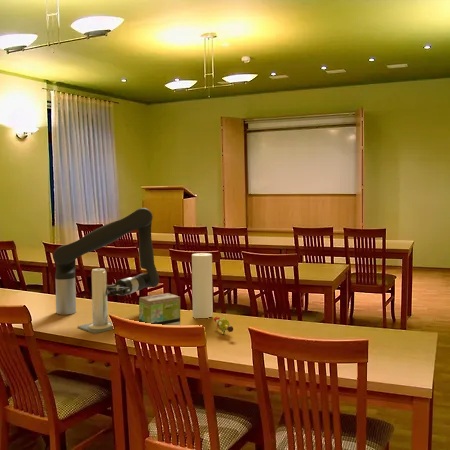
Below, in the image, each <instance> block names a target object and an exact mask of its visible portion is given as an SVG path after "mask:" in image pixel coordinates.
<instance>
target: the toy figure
mask: <svg viewBox="0 0 450 450" xmlns="http://www.w3.org/2000/svg"><path fill="white" fill-rule="evenodd" d="M213 321H214V322H215V323H216V329H218V330H220V331H221V333H222V332H223V334H225V335H226V330H227V332H229V333H232V332H234V327H233V326H231V325H230V324H231V323H230V321H229V320H228V318H226V317H219V316H215V317H214V320H213Z"/></svg>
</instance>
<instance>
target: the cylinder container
mask: <svg viewBox="0 0 450 450" xmlns="http://www.w3.org/2000/svg"><path fill="white" fill-rule="evenodd" d="M191 281H192V282H191V285H192V286H191V287H192V294H191V295H192V318H193V317H194V319H196V318H208V317H211V316H212V315H214V314H213V313H214V311H213V307H214V306H213V304H214V303H213V254H212V253H209V252H208V253H207V252H200V253H199V252H196V253H192V254H191ZM208 319H209V318H208Z"/></svg>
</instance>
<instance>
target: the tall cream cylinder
mask: <svg viewBox="0 0 450 450" xmlns="http://www.w3.org/2000/svg"><path fill="white" fill-rule="evenodd" d="M107 273H108V272H107V270H106V269H105V268H92V270H91V296H92V297H91V301H92V303H91V305H92V323H93V326H94V327H105V326H107V325H108V321H109V315H108V313H109V312H108V310H109V309H108V293H107V284H108V279H107V277H108V276H107V275H108V274H107Z"/></svg>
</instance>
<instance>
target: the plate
mask: <svg viewBox="0 0 450 450" xmlns="http://www.w3.org/2000/svg"><path fill="white" fill-rule="evenodd" d="M111 322H112V321H109V320H108V325H107V326H105V327H94V326H93V322H91V323H86V324H82V325H78V326H77V329H80V330H83V331H86V332H89V333H92V334H94V335H95V334H100V333H104V332H108V330H109V331H111V329H113V326H112V323H111ZM113 330H114V329H113Z"/></svg>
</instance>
